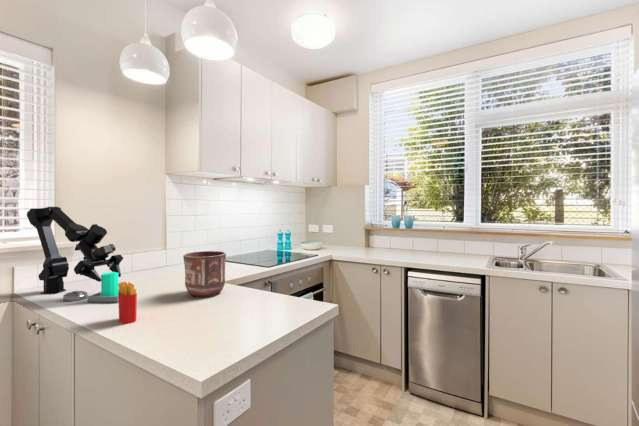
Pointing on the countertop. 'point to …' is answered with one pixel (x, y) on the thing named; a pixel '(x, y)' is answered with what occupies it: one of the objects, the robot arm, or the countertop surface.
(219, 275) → the pottery
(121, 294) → the french fries
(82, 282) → the countertop surface
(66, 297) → the pulley
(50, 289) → the robot arm
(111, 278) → the candle
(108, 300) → the tray
